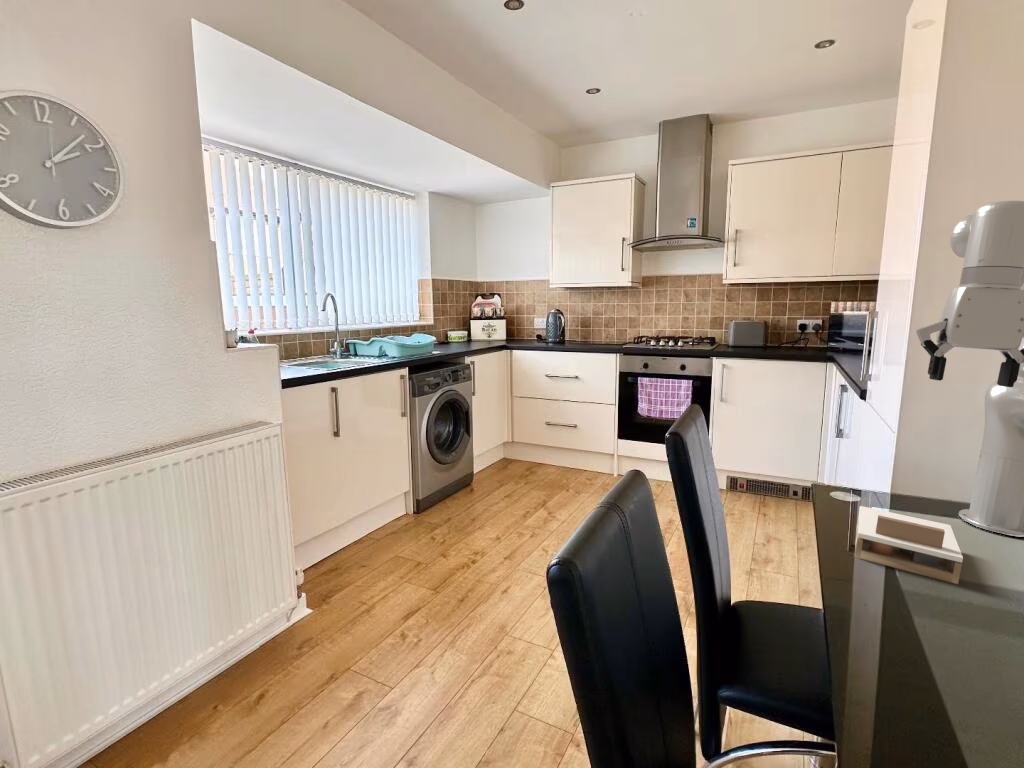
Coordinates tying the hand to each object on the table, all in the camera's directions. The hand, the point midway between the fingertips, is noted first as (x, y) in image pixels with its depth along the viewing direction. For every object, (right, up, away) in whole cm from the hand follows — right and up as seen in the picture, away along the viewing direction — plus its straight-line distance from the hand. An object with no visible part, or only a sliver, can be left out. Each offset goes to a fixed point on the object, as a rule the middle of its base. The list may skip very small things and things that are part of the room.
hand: (969, 382), depth 86 cm
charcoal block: (-7, -32, +1) cm, 32 cm away
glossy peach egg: (-11, -31, +5) cm, 33 cm away
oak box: (-7, -32, +7) cm, 33 cm away
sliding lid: (-6, -27, +6) cm, 29 cm away
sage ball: (-6, -31, +7) cm, 32 cm away
